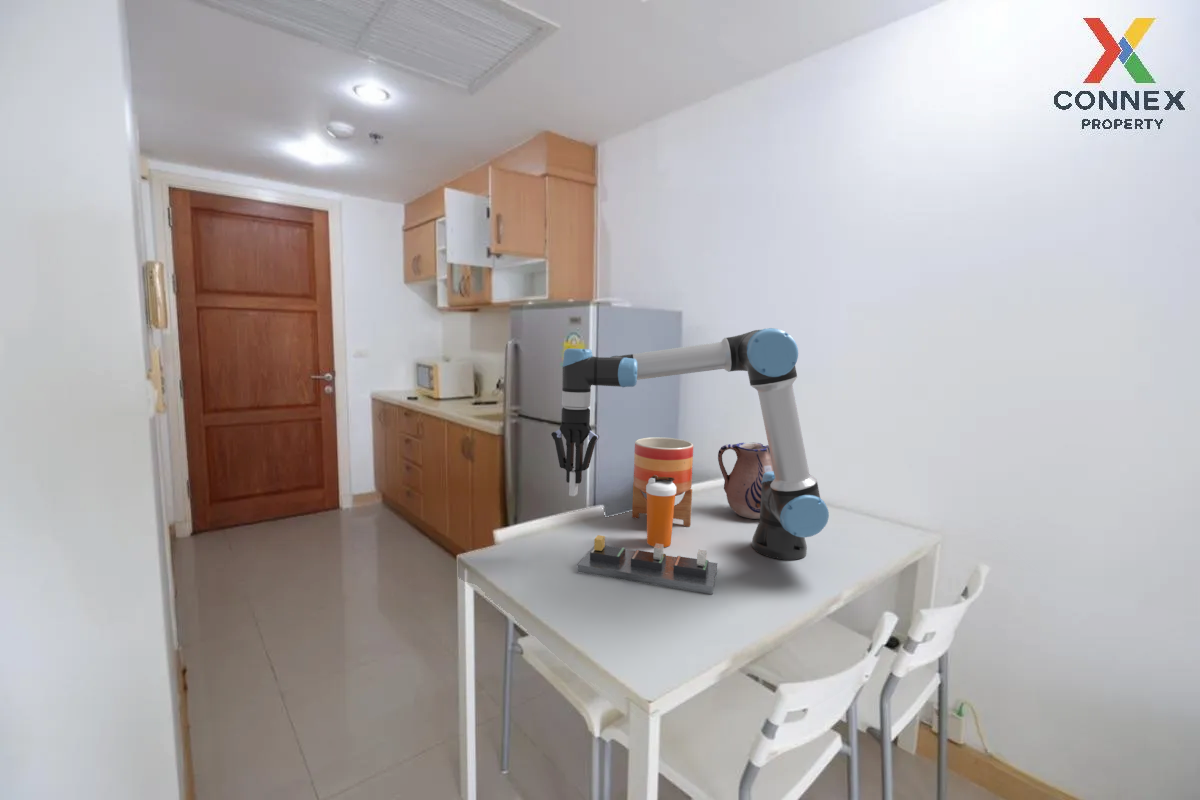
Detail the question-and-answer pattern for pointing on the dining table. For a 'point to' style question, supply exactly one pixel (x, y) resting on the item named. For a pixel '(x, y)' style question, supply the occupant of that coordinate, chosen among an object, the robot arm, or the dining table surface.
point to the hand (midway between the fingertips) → (573, 494)
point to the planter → (663, 472)
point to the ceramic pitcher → (746, 477)
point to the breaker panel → (650, 574)
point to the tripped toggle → (599, 543)
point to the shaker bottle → (660, 510)
